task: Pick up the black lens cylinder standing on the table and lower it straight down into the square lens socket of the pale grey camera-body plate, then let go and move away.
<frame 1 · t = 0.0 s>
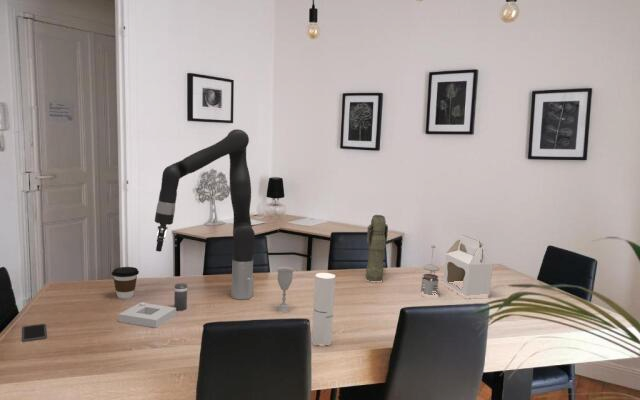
hand: (159, 248, 207), 22 cm above the table, tool pointing down, fingers open, 8 cm apart
coffee cup: (125, 296, 210), on the table
chalice: (283, 310, 205), on the table
french press: (429, 294, 238), on the table
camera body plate: (148, 318, 188), on the table
cell phone: (34, 334, 169), on the table
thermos: (373, 280, 256), on the table
gable box: (465, 292, 246), on the table
cylindrical container: (321, 342, 175), on the table
lens: (180, 308, 200), on the table
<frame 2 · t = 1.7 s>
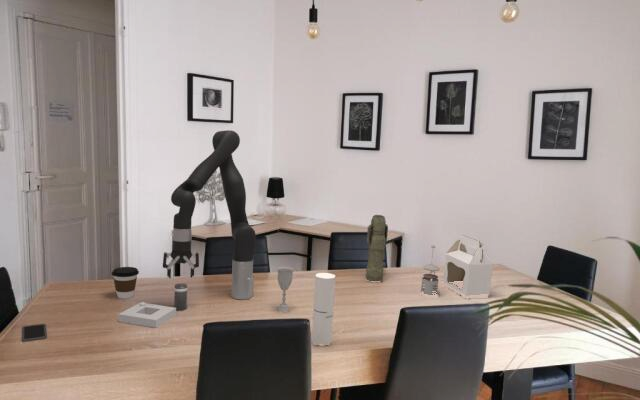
hand: (180, 277, 198), 13 cm above the table, tool pointing down, fingers open, 8 cm apart
nothing on the table moved.
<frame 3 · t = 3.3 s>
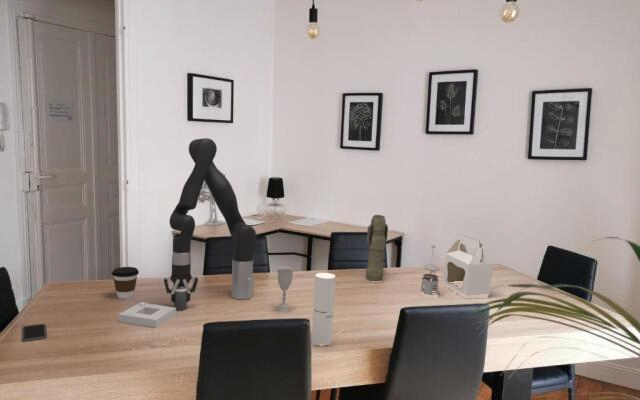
hand: (180, 301, 199), 3 cm above the table, tool pointing down, fingers closed on lens, 5 cm apart
lens: (180, 308, 200), on the table, touching gripper
everything else where it was.
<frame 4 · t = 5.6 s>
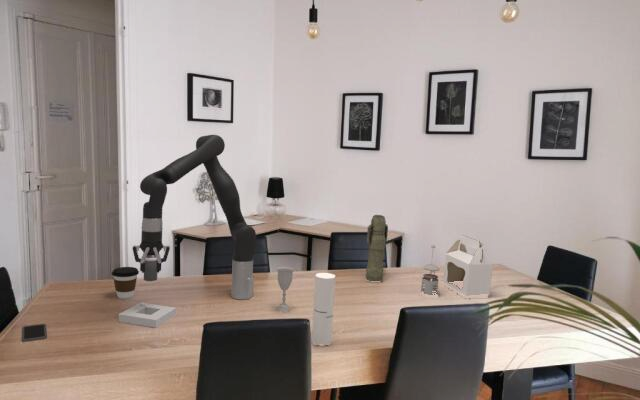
hand: (150, 272, 187), 18 cm above the table, tool pointing down, fingers closed on lens, 5 cm apart
lens: (150, 279, 187), point 15 cm above the table, touching gripper
everything else where it was.
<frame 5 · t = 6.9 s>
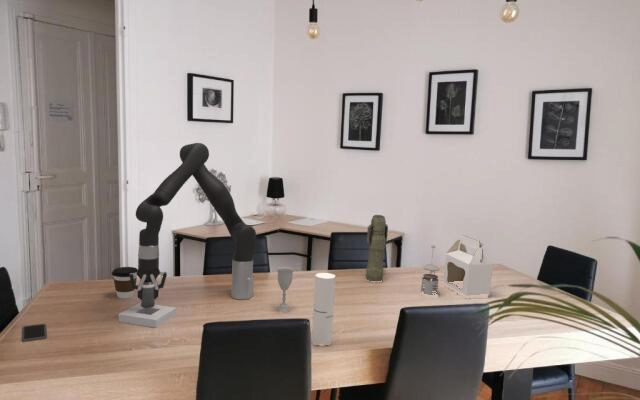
hand: (148, 298, 187), 8 cm above the table, tool pointing down, fingers closed on lens, 5 cm apart
lens: (147, 305, 187), point 5 cm above the table, touching gripper
everything else where it was.
when the fingers open (4 cm above the table, at t = 8.1 s): lens drops 1 cm, resting in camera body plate.
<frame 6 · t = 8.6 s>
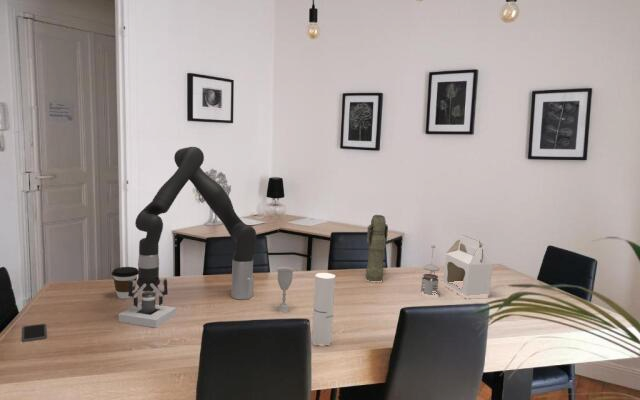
hand: (148, 305, 187), 5 cm above the table, tool pointing down, fingers open, 8 cm apart
lens: (148, 318, 188), resting in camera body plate
everything else where it was.
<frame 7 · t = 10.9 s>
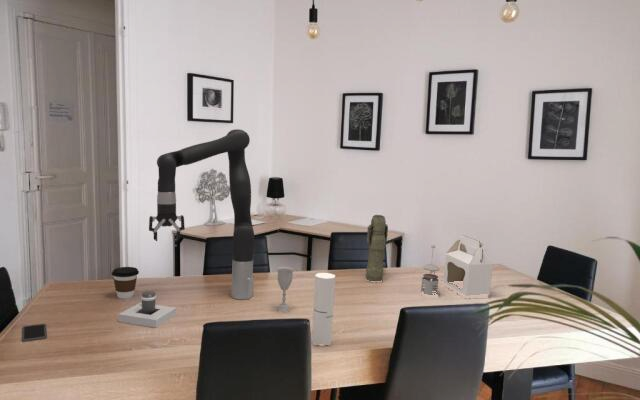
hand: (166, 240, 203), 27 cm above the table, tool pointing down, fingers open, 8 cm apart
nothing on the table moved.
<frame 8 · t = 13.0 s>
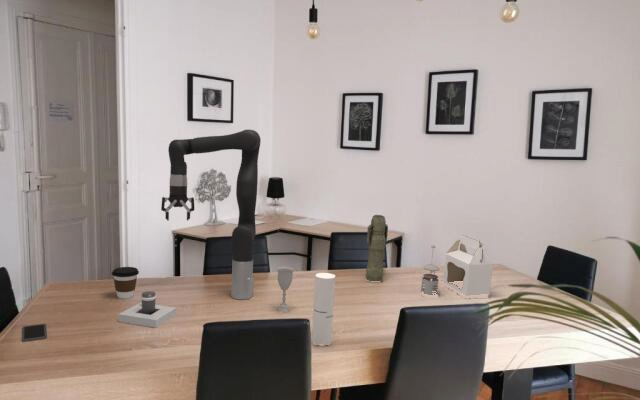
hand: (177, 220, 217), 33 cm above the table, tool pointing down, fingers open, 8 cm apart
nothing on the table moved.
at the end: lens 0.1 cm off-centre on the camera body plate, point 0.0 cm above the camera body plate's base; lens tilted 0°; the gripper is holding nothing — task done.
